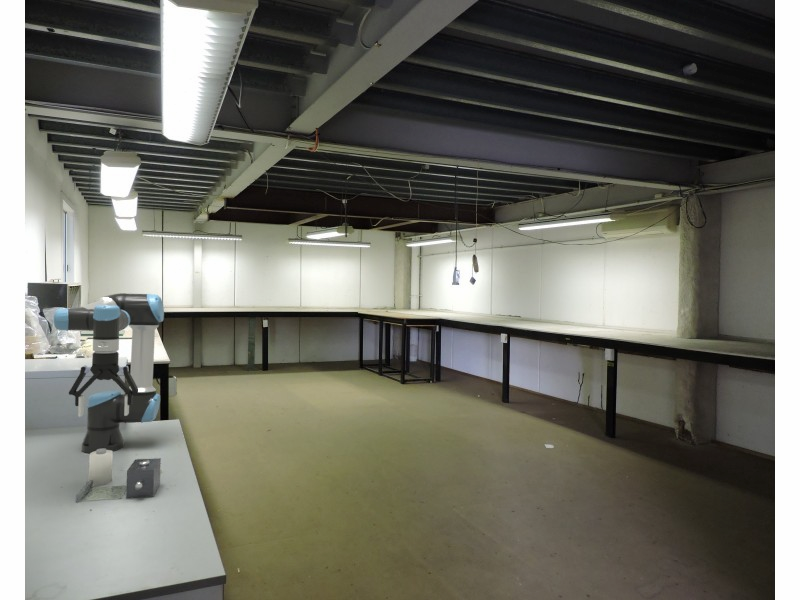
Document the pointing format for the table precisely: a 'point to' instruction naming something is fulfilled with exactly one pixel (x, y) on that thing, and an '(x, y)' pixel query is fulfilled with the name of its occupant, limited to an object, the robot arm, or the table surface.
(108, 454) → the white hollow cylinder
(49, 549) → the table surface
